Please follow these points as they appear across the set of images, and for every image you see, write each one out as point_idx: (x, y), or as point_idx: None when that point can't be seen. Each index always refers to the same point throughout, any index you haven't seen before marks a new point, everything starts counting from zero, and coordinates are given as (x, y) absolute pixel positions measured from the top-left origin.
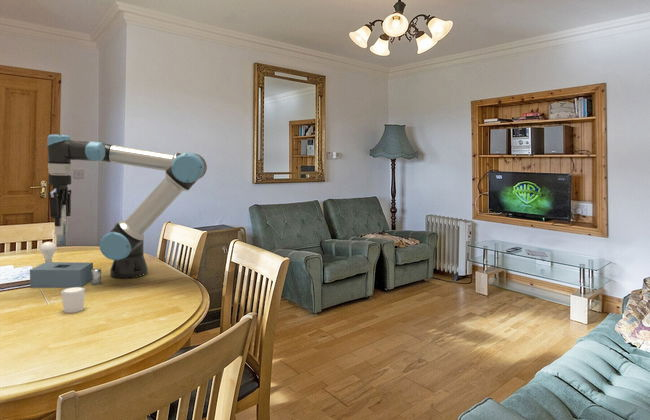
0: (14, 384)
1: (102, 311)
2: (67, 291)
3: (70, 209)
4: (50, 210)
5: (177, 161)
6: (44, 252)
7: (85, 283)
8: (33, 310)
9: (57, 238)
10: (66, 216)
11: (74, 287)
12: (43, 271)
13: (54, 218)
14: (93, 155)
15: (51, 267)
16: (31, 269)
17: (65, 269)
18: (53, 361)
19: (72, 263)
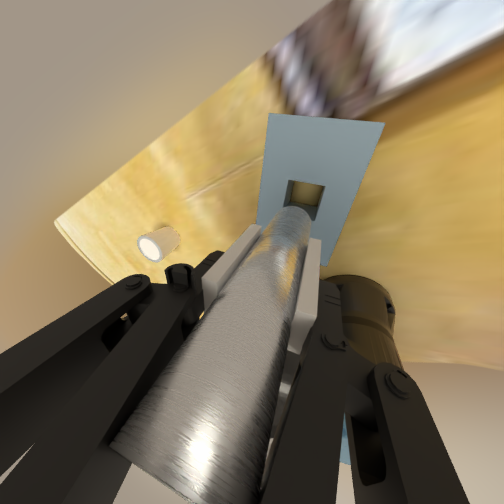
0: (59, 223)
1: (170, 265)
2: (143, 243)
3: (384, 468)
4: (62, 316)
5: None
6: None
7: None
8: (160, 187)
9: (268, 224)
10: (297, 348)
11: (158, 249)
12: (264, 160)
13: (204, 276)
14: None
15: (290, 173)
16: (273, 116)
17: (262, 216)
18: (85, 239)
19: (330, 220)
